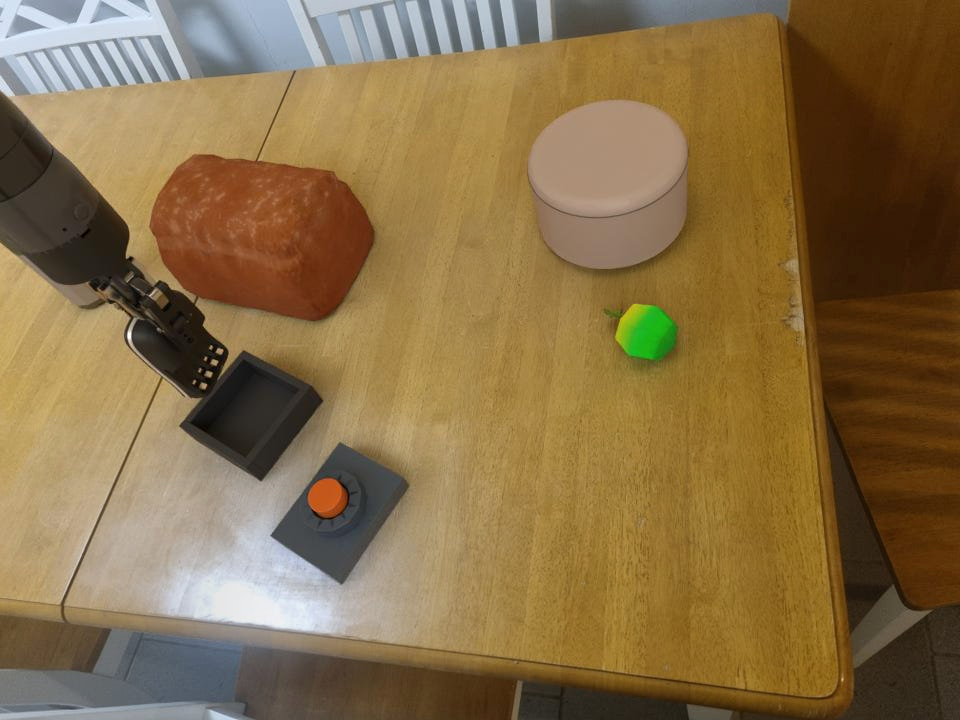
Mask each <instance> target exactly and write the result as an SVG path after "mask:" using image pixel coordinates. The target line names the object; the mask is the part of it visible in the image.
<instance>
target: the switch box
mask: <svg viewBox="0 0 960 720" xmlns="http://www.w3.org/2000/svg"><path fill="white" fill-rule="evenodd" d="M326 478H331V479H334V480H336V481H338V482H339V483H340V484H341V485H342V486H343V487H344V489H345V490H346V492H347V495H348V501H347V505H346V507H345V508H344V510H343V511H342V512H341V513H340V514H338V515H337V516H335V517H332V518H324V517H321V516H320V515H318V514H317V513H316V512H315V511H314V510H313V509H312V508H311V507H310V505H309V503H308V495H309V492H310V490H311V488H312V487H313V485H314V484H315V483H317V482H318V481H320V480H322V479H326ZM409 487H410V484H409V483H408V482H407V480H406V479H405V477H404V476H402V475H400V474H398V473H397V472H395V471H393V470H392V469H389V468H388V467H386V466H384V465H382V464H381V463H379V462H377V461H375V460H374V459H372V458H370V457H368V456H366V455H365V454H362V453H361V452H359V451H358V450H355V449H354V448H352V447H350V446H348V445H346V444H344V443H343V442H341V441H339V442H338V444H337V445H336V446H335V448H334V449H333V450H332V452H331V453H330V454H329V456H328V457H327V459H325V460H324V463H323V464H322V465H321V467H320V468H319V469H318V470H317V472H316V473H315V475H314V476H313V477H312V479H311V480H310V481H309V483H308V484H307V485H306V487H305V488H304V489H303V491H302V492H301V493H300V495H299V496H298V498H297V499H296V500H295V501H294V503H293V504H292V505H291V507H290V508H289V510H288V511H287V512H286V513H285V515H284V516H283V518H282V519H281V520H280V521H279V523H278V524H277V526H276V527H275V529H274V530H273V531H272V532H271V533H270V535H269V536H270V538H272V539H273V540H275V541H276V542H277V543H279V544H280V545H282V546H283V547H284V548H286V549H288V550H289V551H291V552H292V553H294V554H295V555H297V556H298V557H299V558H301V559H302V560H304V561H305V562H307V563H308V564H310V565H311V566H313V567H314V568H316V569H317V570H318V571H320V572H322V573H323V574H324V575H326V576H328V577H329V578H330V579H332V580H333V581H334V582H336V583H338V584H339V585H341V586H342V585H343V584H344V582H345V581H346V580H347V578H348V576H349V575H350V573H351V572H352V570H353V569H354V567H355V566H356V564H357V563H358V562H359V560H360V559H361V557H362V556H363V554H364V553H365V551H366V550H367V549H368V547H369V545H370V544H371V543H372V542H373V540H374V538H375V537H376V536H377V534H378V532H379V531H380V529H381V528H382V526H383V525H384V523H385V522H386V521H387V519H388V517H390V515H391V513H392V511H393V510H395V507H396V506H397V505H398V503H399V502H400V500H401V499H402V497H403V496H404V494H405V493H406V492H407V490H408V489H409Z"/></svg>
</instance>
